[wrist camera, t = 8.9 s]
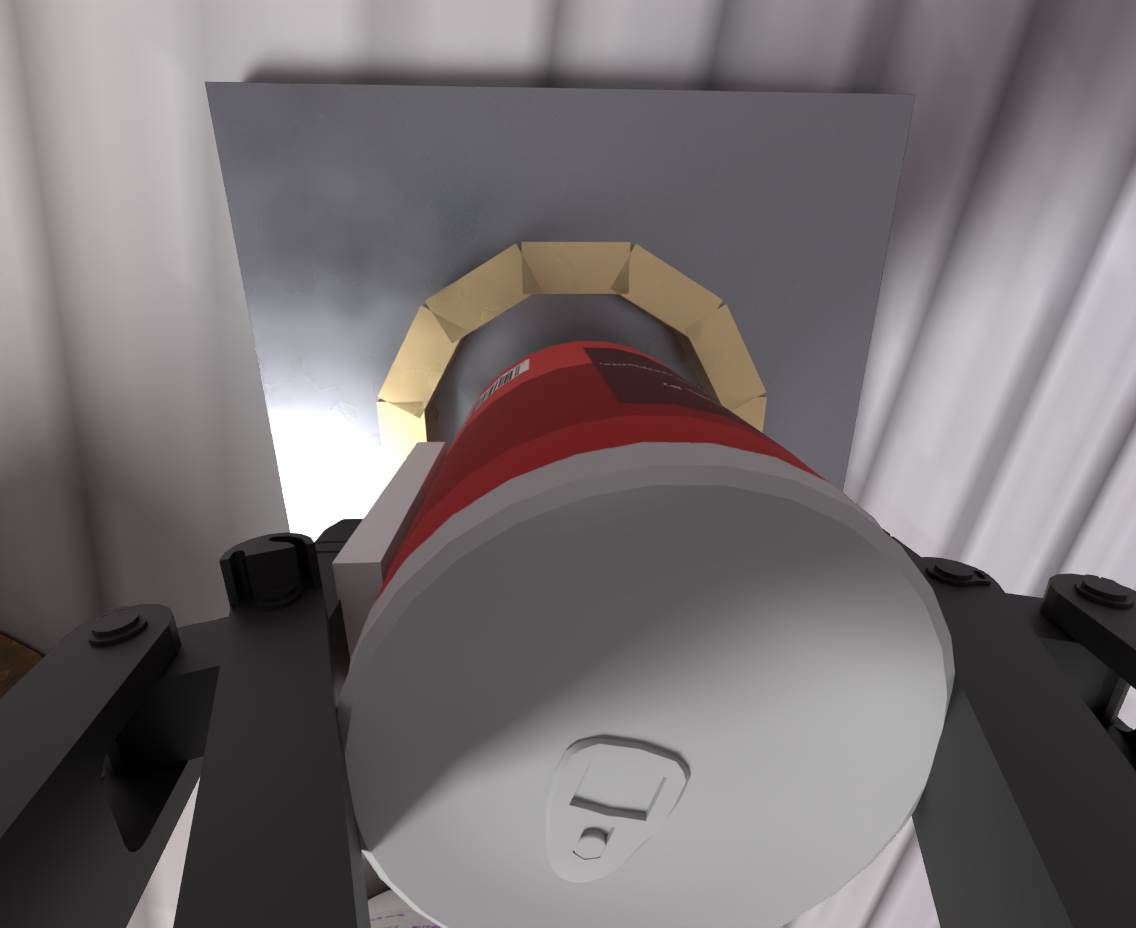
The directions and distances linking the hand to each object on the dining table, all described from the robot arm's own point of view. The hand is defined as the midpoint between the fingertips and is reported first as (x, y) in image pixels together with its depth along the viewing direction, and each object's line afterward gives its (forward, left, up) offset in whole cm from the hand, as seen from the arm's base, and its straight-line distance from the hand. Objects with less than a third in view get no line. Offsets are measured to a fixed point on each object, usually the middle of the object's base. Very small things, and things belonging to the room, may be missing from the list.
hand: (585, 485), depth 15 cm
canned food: (0, 0, -2) cm, 2 cm away
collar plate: (0, 0, -7) cm, 7 cm away
